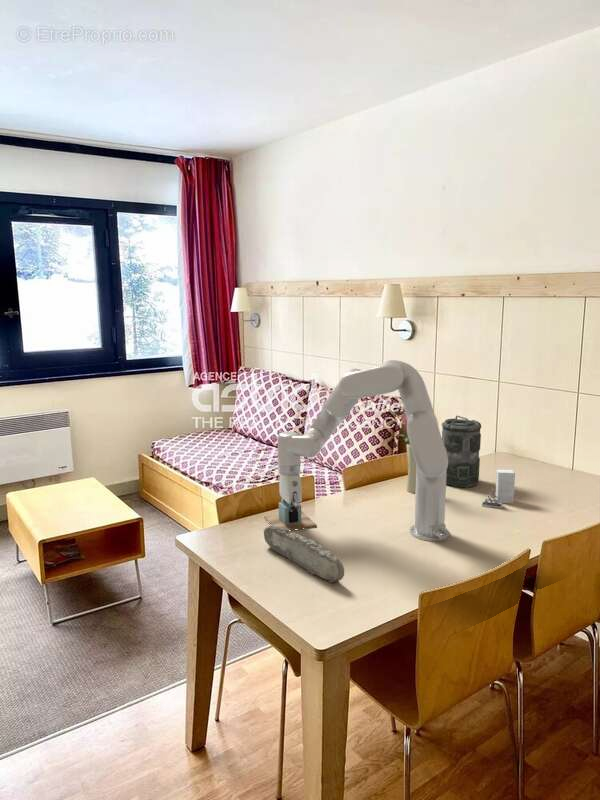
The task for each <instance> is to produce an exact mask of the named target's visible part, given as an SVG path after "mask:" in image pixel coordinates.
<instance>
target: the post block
mask: <svg viewBox="0 0 600 800" xmlns="http://www.w3.org/2000/svg"><path fill="white" fill-rule="evenodd" d="M263 518H265V519H266V520H267V521H268V522H269V523H270V524H271V525H272V526H279V527H280V528H283V529H287V530H295V529H301V530H304V529H303V528H307V529H311V527H313V528H317V526H318V525H317V524H316V523H315V522H314V521H313V520H312V519H311V518H310V517H309V516H308V515H306V514H305V513H304V512H303V511H302V510H301V523H295V524H289V525H284V524H283V523H282V522H281V521H280V520H279V513H278V514H273V515H272V514H271V515H265V516H264V517H263ZM265 519H264V520H265ZM266 520H265V521H266ZM267 521H266V522H267ZM268 522H267V523H268ZM269 523H268V524H269ZM270 524H269V525H270ZM271 525H270V526H271ZM295 531H296V530H295Z"/></svg>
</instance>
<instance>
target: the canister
mask: <svg viewBox="0 0 600 800" xmlns="http://www.w3.org/2000/svg"><path fill="white" fill-rule="evenodd" d="M441 426H442V430H441V438H442V441H443V445H444V446H445V448H446V450H447V455H448V467H447V470H446V486H452V487H459V488H460V487H461V488H466V489H467V488H473V487H475V486H476V485H478V483H479V481H480V465H481V463H480V462H481V461H480V460H481V458H480V450H481V440H482V437H481V436H482V434H481V429H482V424H481V422H480V421H477V420H475V419H472V420H471V419H468V418H467V417H464V416H461V415H458V414H456V415H455V418H448V419H445V420H444V421H443V422H441Z"/></svg>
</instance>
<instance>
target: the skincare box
mask: <svg viewBox="0 0 600 800" xmlns="http://www.w3.org/2000/svg"><path fill="white" fill-rule="evenodd" d="M495 474H496V478H495V479H496V480H495V491H496V493H495V496H498V497H499V499H500V500H501V502H502V504H514V502H515V500H514V499H515V484H516V483H515V482H516V479H515V477H516V473H515V472H514V470H513V469H496V473H495ZM496 498H497V497H495V499H496ZM496 500H498V498H497V499H496ZM497 503H498V504H500V503H499V502H497Z"/></svg>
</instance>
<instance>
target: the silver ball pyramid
mask: <svg viewBox="0 0 600 800" xmlns="http://www.w3.org/2000/svg"><path fill="white" fill-rule="evenodd" d="M492 493H494V494H496V488H495V487H492V489H491V491H490V494H488V495H487V496H486V497H485V499H484V500H482V503H481V505H482V507H484V508H491V509H498V510H502V509H503V508H504V503H502V502H501V500H500V499H499V497H498V496H496V495H492ZM496 497H497V498H498V500H496V499H497V498H496ZM497 502H499V503H497Z"/></svg>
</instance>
